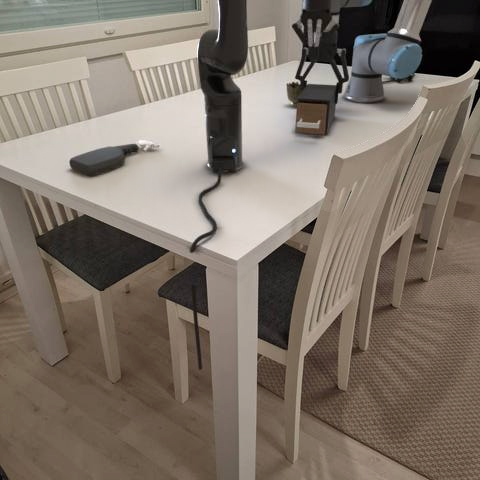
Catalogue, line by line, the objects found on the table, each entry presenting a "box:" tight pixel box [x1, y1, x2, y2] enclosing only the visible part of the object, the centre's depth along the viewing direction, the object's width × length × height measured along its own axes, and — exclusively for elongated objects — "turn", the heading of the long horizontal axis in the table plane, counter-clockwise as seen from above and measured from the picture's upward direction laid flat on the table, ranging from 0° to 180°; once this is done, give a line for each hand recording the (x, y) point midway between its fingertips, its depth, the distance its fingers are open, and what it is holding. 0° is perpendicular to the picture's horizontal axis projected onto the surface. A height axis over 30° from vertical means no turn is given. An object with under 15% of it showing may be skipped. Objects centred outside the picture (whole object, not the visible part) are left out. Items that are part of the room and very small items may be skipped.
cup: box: [286, 81, 302, 108], centre depth 165 cm, size 8×7×8 cm
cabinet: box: [294, 83, 337, 136], centre depth 146 cm, size 20×10×11 cm, turn 163°
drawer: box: [295, 101, 327, 136], centre depth 141 cm, size 24×9×9 cm, turn 163°
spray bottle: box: [68, 139, 160, 177], centre depth 124 cm, size 3×11×24 cm
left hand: (313, 60), depth 124 cm, fingers closed
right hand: (319, 102), depth 151 cm, fingers closed on cabinet, 10 cm apart
